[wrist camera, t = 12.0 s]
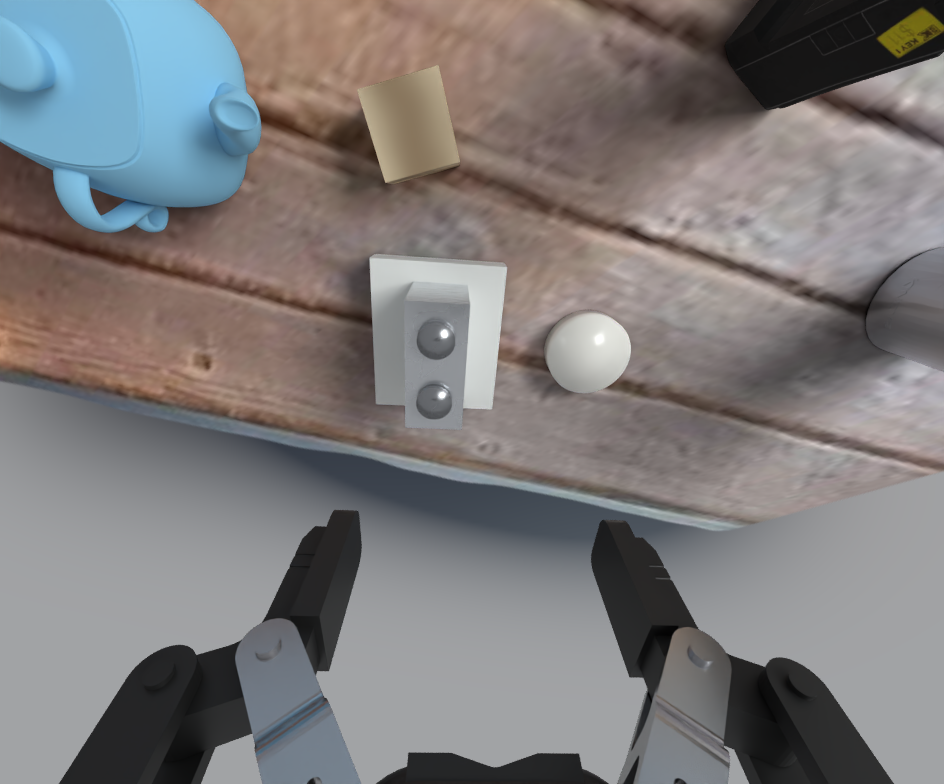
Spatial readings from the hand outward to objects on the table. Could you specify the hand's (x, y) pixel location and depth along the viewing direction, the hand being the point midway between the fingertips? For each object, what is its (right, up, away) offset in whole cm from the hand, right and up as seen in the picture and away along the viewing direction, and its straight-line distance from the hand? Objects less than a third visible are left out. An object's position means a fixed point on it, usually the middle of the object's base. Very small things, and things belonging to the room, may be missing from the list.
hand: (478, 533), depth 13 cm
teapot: (-20, +24, +13) cm, 34 cm away
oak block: (-4, +23, +15) cm, 27 cm away
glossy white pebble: (+10, +9, +22) cm, 26 cm away
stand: (-3, +10, +21) cm, 23 cm away
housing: (-3, +9, +18) cm, 20 cm away
